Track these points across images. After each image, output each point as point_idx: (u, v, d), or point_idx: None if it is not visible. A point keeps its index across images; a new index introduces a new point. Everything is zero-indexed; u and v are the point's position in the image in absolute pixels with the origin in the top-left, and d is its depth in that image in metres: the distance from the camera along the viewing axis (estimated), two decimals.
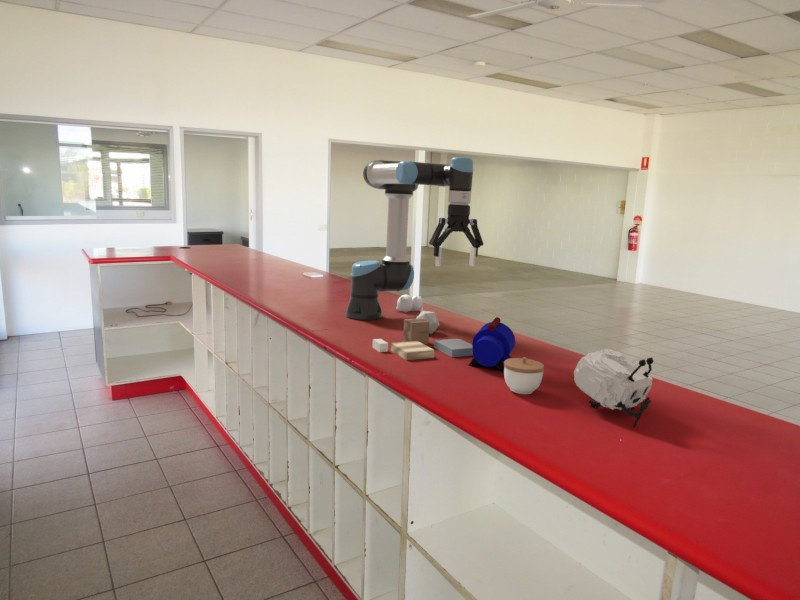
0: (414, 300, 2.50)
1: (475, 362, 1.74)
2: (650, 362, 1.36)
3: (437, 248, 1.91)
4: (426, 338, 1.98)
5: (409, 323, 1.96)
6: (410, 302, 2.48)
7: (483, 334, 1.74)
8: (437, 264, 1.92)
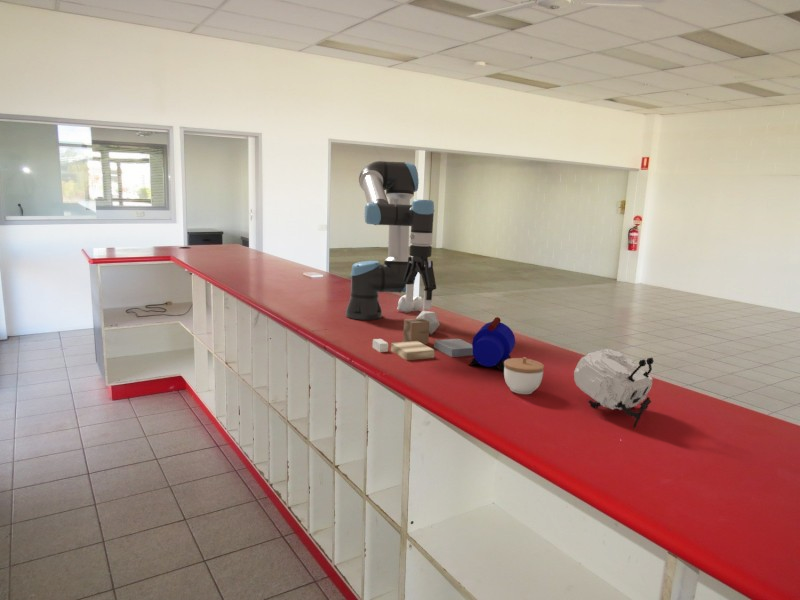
0: (415, 300, 2.50)
1: (475, 362, 1.74)
2: (650, 362, 1.36)
3: None
4: (426, 338, 1.98)
5: (409, 323, 1.96)
6: (411, 302, 2.47)
7: (483, 334, 1.74)
8: None
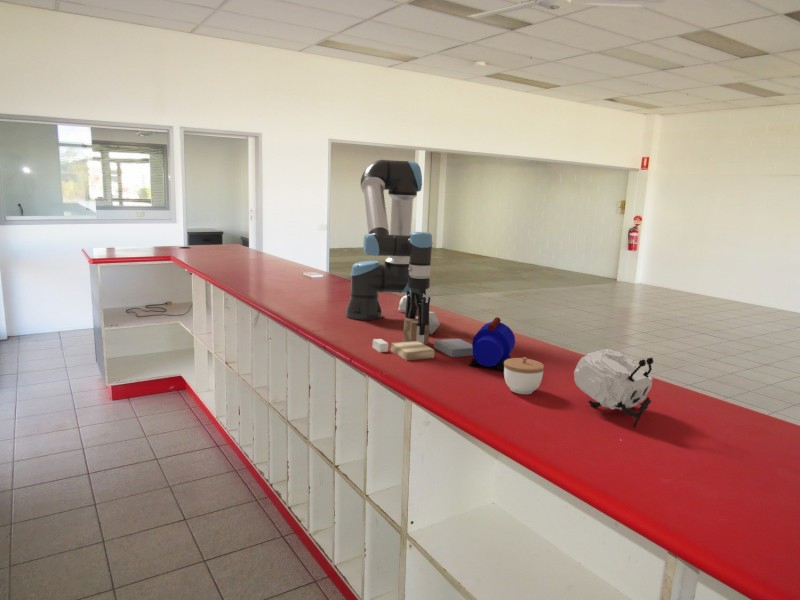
0: None
1: (475, 362, 1.74)
2: (650, 362, 1.36)
3: None
4: (426, 338, 1.98)
5: (409, 323, 1.96)
6: None
7: (483, 334, 1.74)
8: None
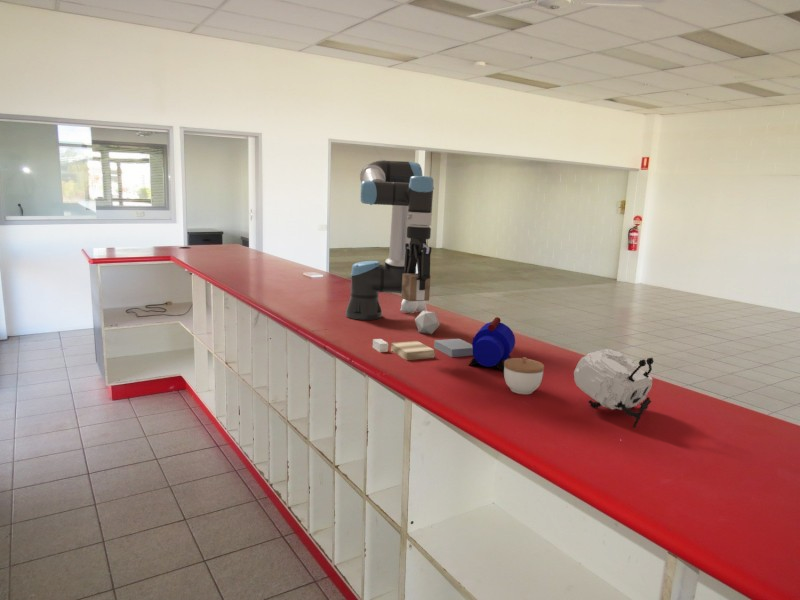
0: (418, 301, 2.49)
1: (475, 362, 1.74)
2: (650, 362, 1.36)
3: None
4: (427, 294, 1.80)
5: (408, 277, 1.78)
6: (415, 303, 2.46)
7: (483, 334, 1.74)
8: None
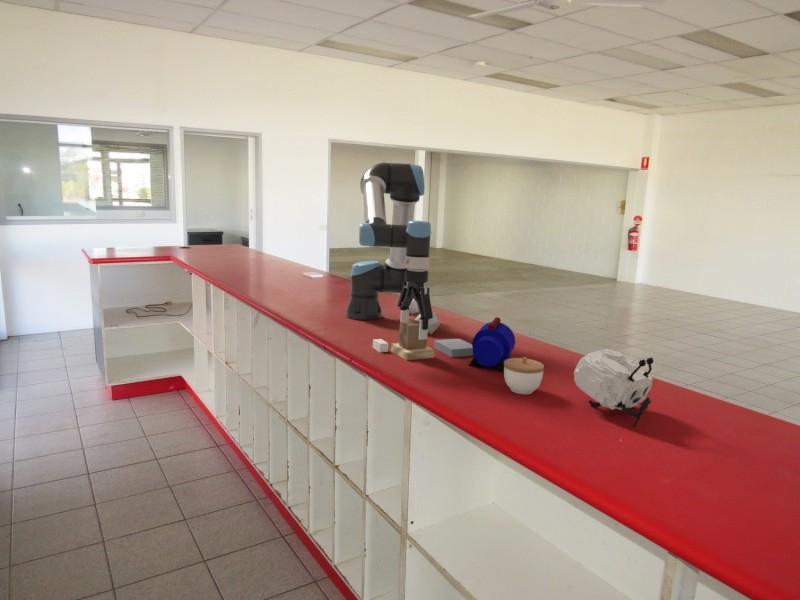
0: None
1: (475, 362, 1.74)
2: (650, 362, 1.36)
3: None
4: (424, 342, 1.83)
5: (405, 326, 1.81)
6: None
7: (483, 334, 1.74)
8: None
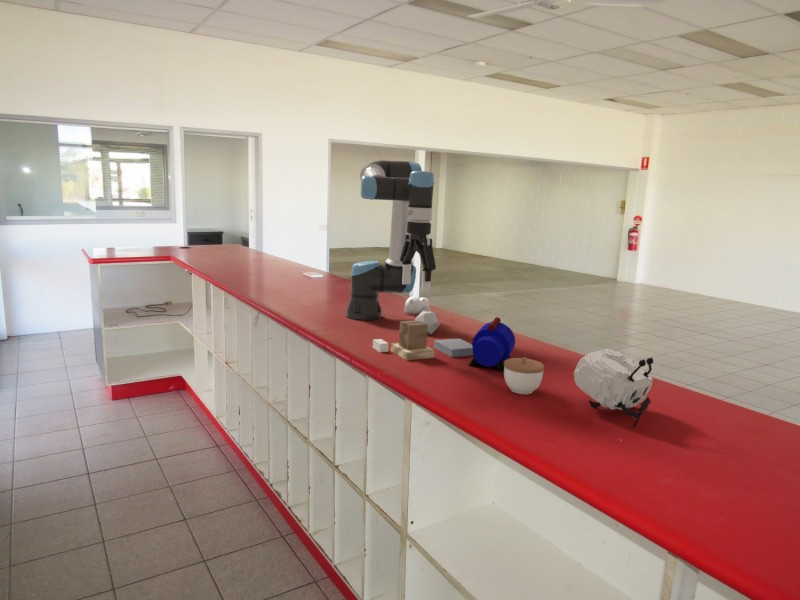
0: (422, 302, 2.48)
1: (475, 362, 1.74)
2: (650, 362, 1.36)
3: None
4: (424, 342, 1.83)
5: (406, 326, 1.81)
6: (420, 304, 2.45)
7: (483, 334, 1.74)
8: None
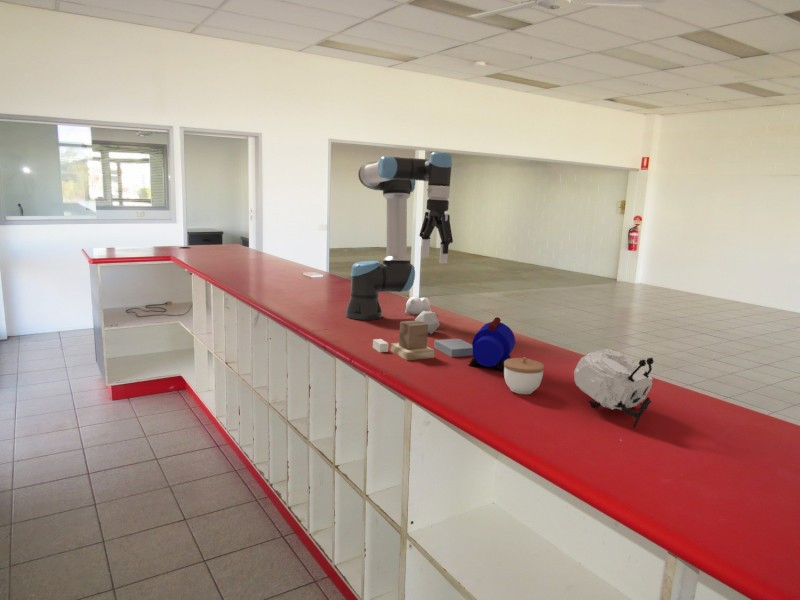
0: (423, 302, 2.47)
1: (475, 362, 1.74)
2: (650, 362, 1.36)
3: (423, 240, 2.03)
4: (424, 342, 1.83)
5: (406, 326, 1.80)
6: (421, 304, 2.44)
7: (483, 334, 1.74)
8: None
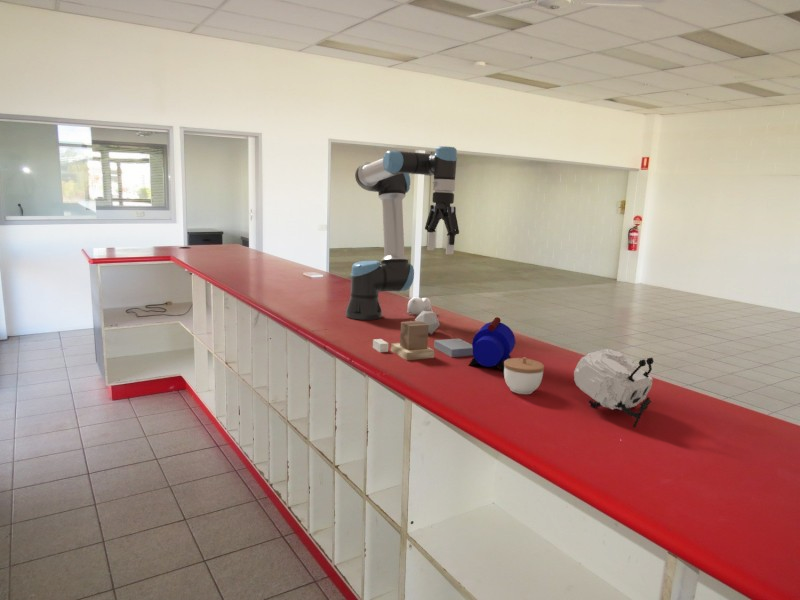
0: (425, 302, 2.47)
1: (475, 362, 1.74)
2: (650, 362, 1.36)
3: None
4: (425, 342, 1.83)
5: (406, 326, 1.81)
6: (423, 304, 2.44)
7: (483, 334, 1.74)
8: None
